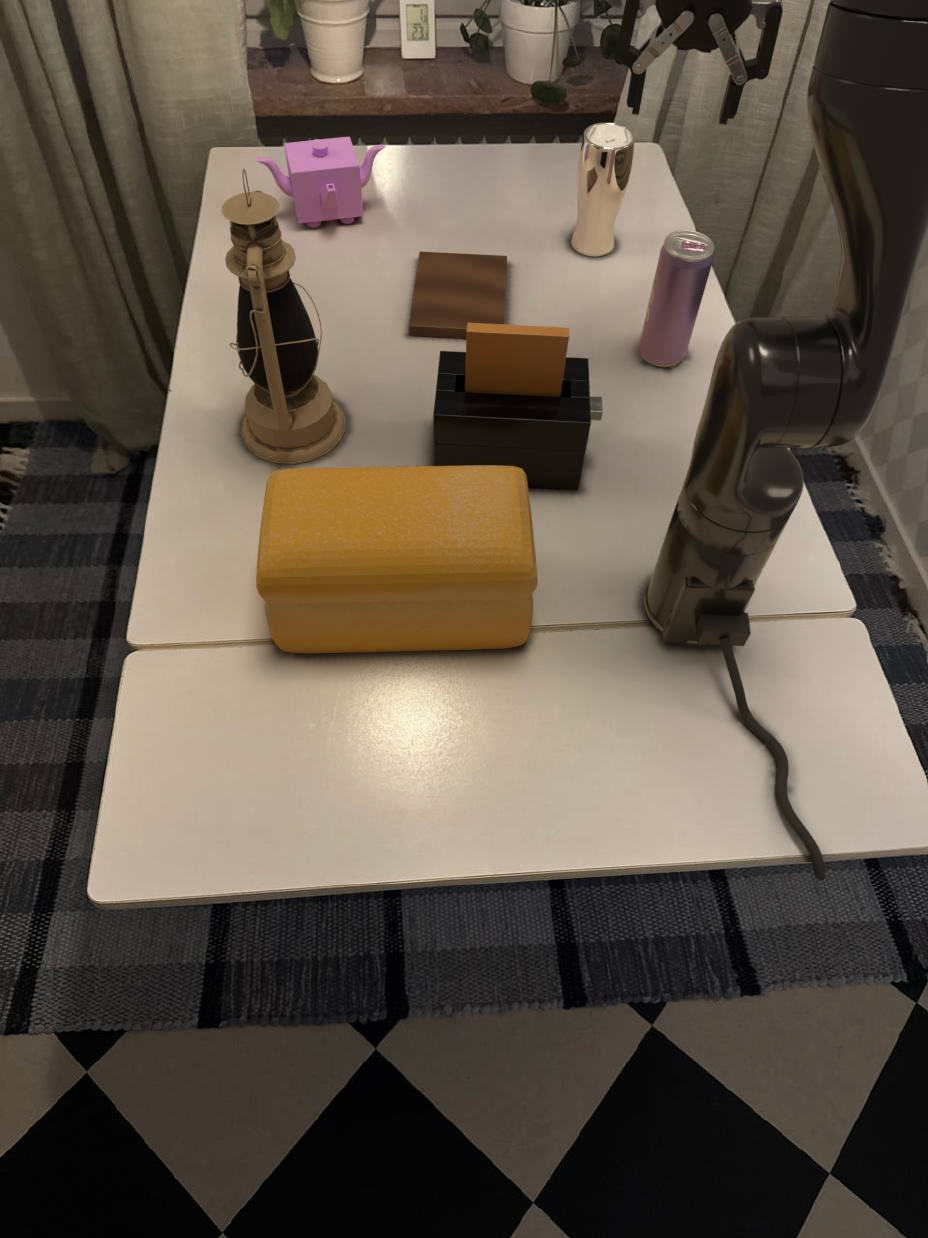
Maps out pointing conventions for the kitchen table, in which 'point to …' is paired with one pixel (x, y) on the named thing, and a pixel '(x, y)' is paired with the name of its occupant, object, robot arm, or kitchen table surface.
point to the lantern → (276, 341)
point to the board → (457, 293)
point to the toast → (515, 359)
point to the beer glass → (601, 185)
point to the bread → (397, 558)
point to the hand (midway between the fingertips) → (679, 115)
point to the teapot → (324, 179)
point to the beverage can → (676, 297)
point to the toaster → (515, 425)
